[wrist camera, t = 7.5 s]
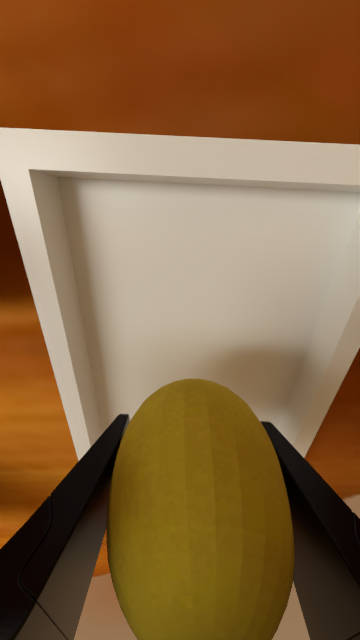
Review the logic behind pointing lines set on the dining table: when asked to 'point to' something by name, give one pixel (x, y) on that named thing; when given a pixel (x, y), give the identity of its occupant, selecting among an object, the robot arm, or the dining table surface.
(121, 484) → the lemon
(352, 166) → the tray
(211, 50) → the dining table surface
